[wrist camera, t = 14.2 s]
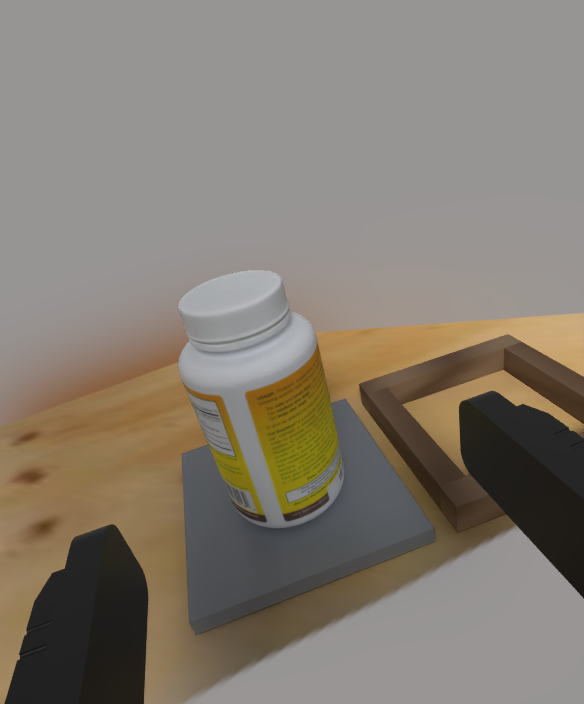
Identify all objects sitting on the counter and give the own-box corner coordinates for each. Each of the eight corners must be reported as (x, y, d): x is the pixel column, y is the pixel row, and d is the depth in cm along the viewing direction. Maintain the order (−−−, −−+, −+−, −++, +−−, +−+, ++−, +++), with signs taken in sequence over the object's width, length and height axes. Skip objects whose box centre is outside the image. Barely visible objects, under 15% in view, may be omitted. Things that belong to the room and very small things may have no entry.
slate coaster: (196, 634, 16) (189, 622, 16) (186, 464, 25) (181, 453, 25) (435, 540, 18) (434, 528, 17) (347, 409, 26) (345, 398, 26)
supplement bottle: (352, 444, 22) (316, 253, 17) (338, 539, 18) (283, 316, 13) (252, 445, 24) (193, 270, 19) (215, 531, 19) (125, 331, 15)
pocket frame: (457, 532, 18) (456, 507, 17) (362, 404, 27) (359, 384, 26) (663, 452, 19) (669, 425, 18) (507, 354, 28) (508, 334, 27)
